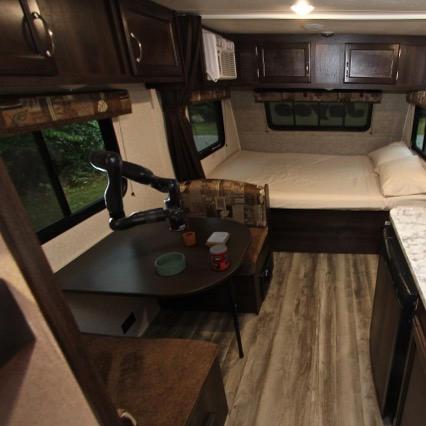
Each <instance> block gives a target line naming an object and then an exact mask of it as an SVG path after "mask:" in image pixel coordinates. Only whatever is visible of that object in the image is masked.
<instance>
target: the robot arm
mask: <svg viewBox="0 0 426 426" xmlns="http://www.w3.org/2000/svg"><path fill="white" fill-rule="evenodd" d="M88 158H89V163H90V164H91V165H92V166H93V167H94V168H95V169H97V170H100V171H104V172H106V174H107V178H108V184H107V187H106V189H105V192H104V201H105V207H106V210H107V212H108V217H109V220H108V228H109V229H110V230H111V231H114V232H123V231H127V230H130V229H133V228H135V227H138V226H144V225H152V224H156V223H161V222H166V221H168V225H169V230H170V232H179V231H183V230H186V228H185V223H184V218H183V214H184V213H187V214H190V213H191V208H190V206H185V207H186V209H183V210H182V208H181V203H180V200H182V192H181V184H180V183H179V181H178V180H177V179H176V178H169V177H161V176H158V175H156V174H155V173H154V172H153V171H152V170H151V169H149V168H148V167H146V166H143V165H141V164H139V163H135V162H131V161H128V160H123V159H122V157H121V155H120V154H119V153H117V152H115V151H111V150H106V149H96V150H93V151H92V152H90V154H89V156H88ZM123 178H124V179H126V180H129V181H131V182H133V183H136V184H138V185H142V186H146V187H149V188H151V189H154V190H155V191H158V192H160V193H162V194H168V196H169V197H167V198H165V199H164V200H163V205H164V207H163V206H161V207H155V208H149V209H146V210H140V211H135V212H132V213H130V215H128V216H126V211H125V206H124V205H125V204H124V198H123V191H122V189H123V186H122V185H123ZM164 208H165V209H164Z"/></svg>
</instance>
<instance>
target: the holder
mask: <svg viewBox="0 0 426 426" xmlns="http://www.w3.org/2000/svg"><path fill="white" fill-rule="evenodd" d="M183 240H184V244H185V245H184V246H187V247H190V246H194V245H196V244H197V238H196V233H195V232H194V231H187V232H184V233H183Z"/></svg>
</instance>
